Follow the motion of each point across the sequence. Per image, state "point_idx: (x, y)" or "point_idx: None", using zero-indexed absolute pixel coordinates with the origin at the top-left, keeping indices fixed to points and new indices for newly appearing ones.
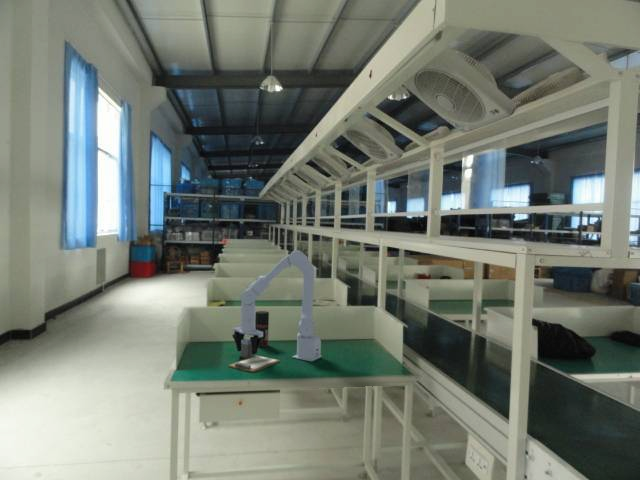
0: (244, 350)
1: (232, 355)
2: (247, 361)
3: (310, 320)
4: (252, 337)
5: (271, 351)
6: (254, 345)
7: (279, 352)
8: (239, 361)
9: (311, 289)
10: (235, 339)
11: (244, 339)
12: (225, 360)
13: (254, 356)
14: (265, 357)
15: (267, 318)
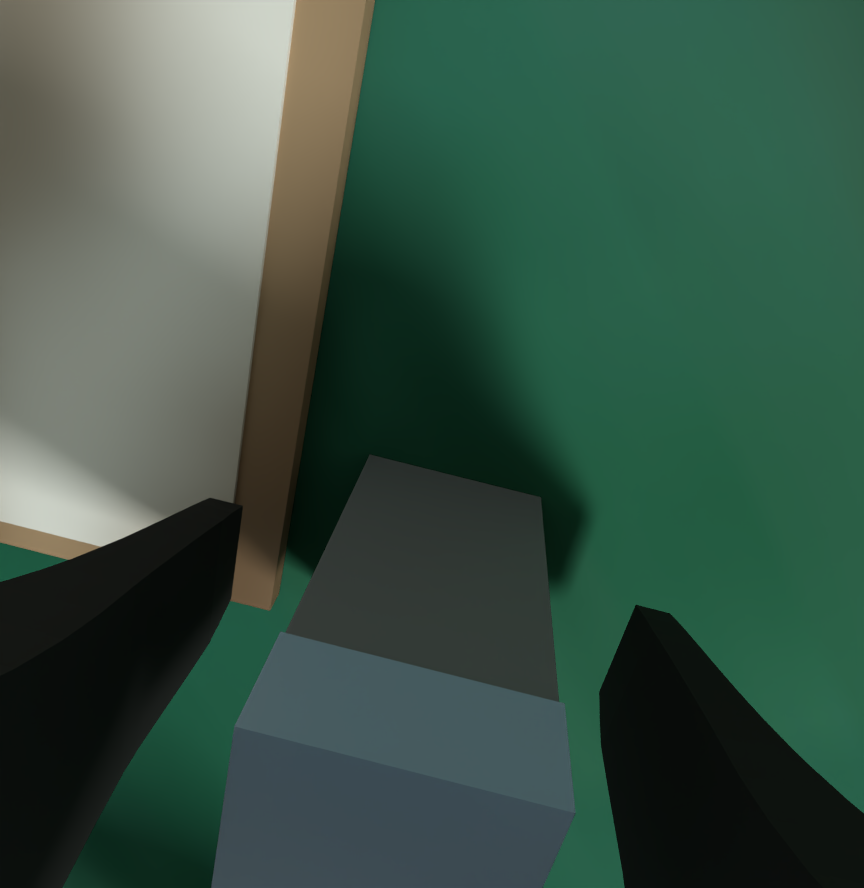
0: (438, 556)
1: (762, 534)
2: (156, 120)
3: None
4: None
5: None
6: (8, 585)
7: (84, 868)
8: (340, 49)
9: None
10: (853, 843)
11: (477, 871)
12: (786, 125)
13: (248, 532)
14: (30, 538)
15: None
